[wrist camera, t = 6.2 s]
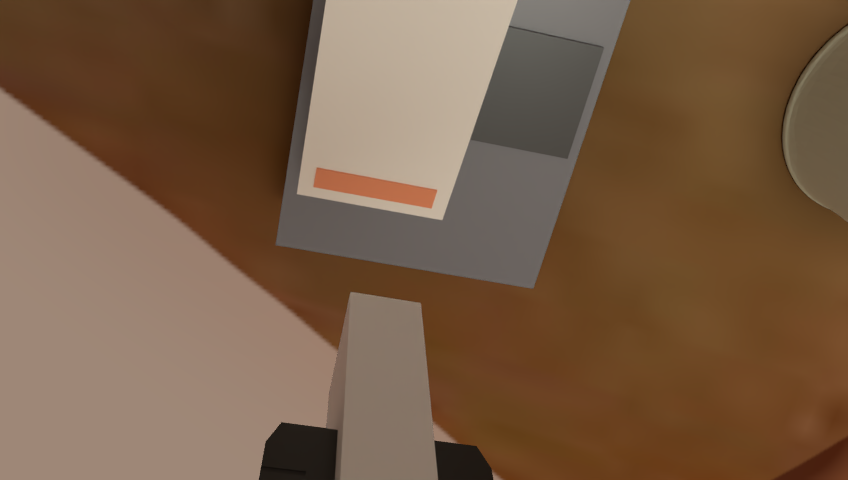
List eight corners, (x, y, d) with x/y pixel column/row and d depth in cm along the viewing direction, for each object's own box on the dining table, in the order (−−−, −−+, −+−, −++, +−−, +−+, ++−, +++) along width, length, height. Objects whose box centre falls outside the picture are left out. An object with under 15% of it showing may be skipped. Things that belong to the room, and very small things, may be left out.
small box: (342, -93, 20) (335, -68, 19) (521, -51, 21) (526, -23, 20) (302, 163, 26) (296, 195, 25) (442, 189, 27) (442, 221, 26)
